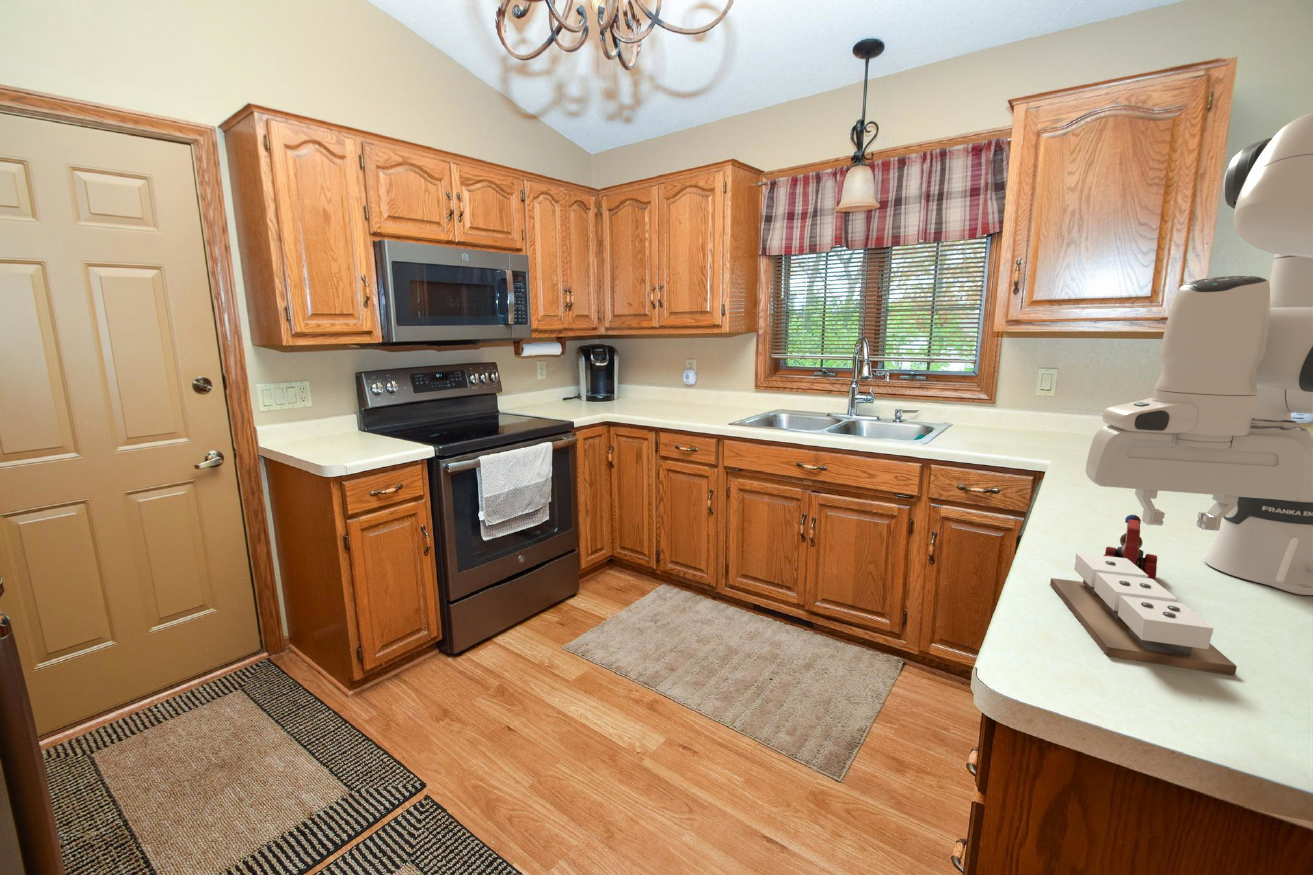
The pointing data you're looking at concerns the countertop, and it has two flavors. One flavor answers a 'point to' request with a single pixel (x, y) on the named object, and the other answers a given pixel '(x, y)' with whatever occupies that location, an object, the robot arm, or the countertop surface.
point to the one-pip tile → (1104, 567)
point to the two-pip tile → (1129, 589)
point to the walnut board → (1120, 635)
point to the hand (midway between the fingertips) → (1179, 526)
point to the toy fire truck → (1134, 548)
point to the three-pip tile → (1164, 622)
